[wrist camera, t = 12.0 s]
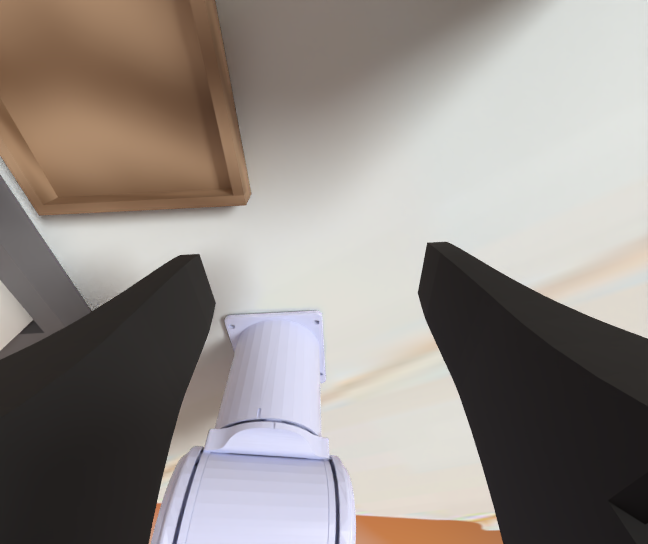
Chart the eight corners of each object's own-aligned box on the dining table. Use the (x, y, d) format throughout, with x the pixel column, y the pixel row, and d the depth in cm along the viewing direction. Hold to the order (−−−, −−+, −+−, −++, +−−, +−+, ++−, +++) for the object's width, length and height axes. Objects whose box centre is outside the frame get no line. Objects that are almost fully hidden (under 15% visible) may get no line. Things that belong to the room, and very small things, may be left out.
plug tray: (251, 193, 19) (246, 205, 17) (60, 203, 19) (39, 215, 17) (196, -99, 12) (180, -121, 10) (-108, -85, 12) (-168, -106, 10)
